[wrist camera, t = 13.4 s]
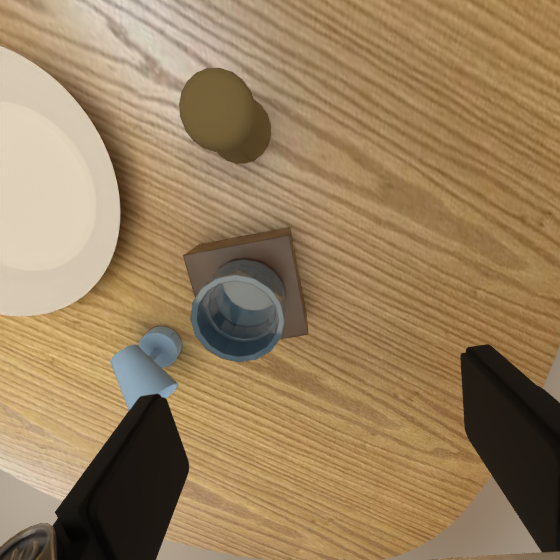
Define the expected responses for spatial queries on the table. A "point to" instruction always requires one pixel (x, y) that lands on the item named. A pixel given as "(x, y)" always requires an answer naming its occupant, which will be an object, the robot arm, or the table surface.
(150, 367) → the spotlight
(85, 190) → the cream plate
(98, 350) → the table surface
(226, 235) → the table surface
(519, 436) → the robot arm
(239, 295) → the small cup
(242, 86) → the cork
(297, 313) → the stand
